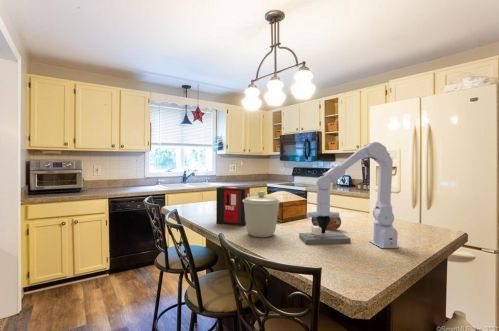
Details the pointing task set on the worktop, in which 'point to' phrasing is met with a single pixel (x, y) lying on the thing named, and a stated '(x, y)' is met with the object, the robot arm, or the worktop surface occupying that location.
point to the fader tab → (316, 230)
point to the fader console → (324, 238)
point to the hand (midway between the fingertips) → (322, 232)
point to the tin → (332, 225)
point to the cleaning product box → (231, 205)
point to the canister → (261, 214)
